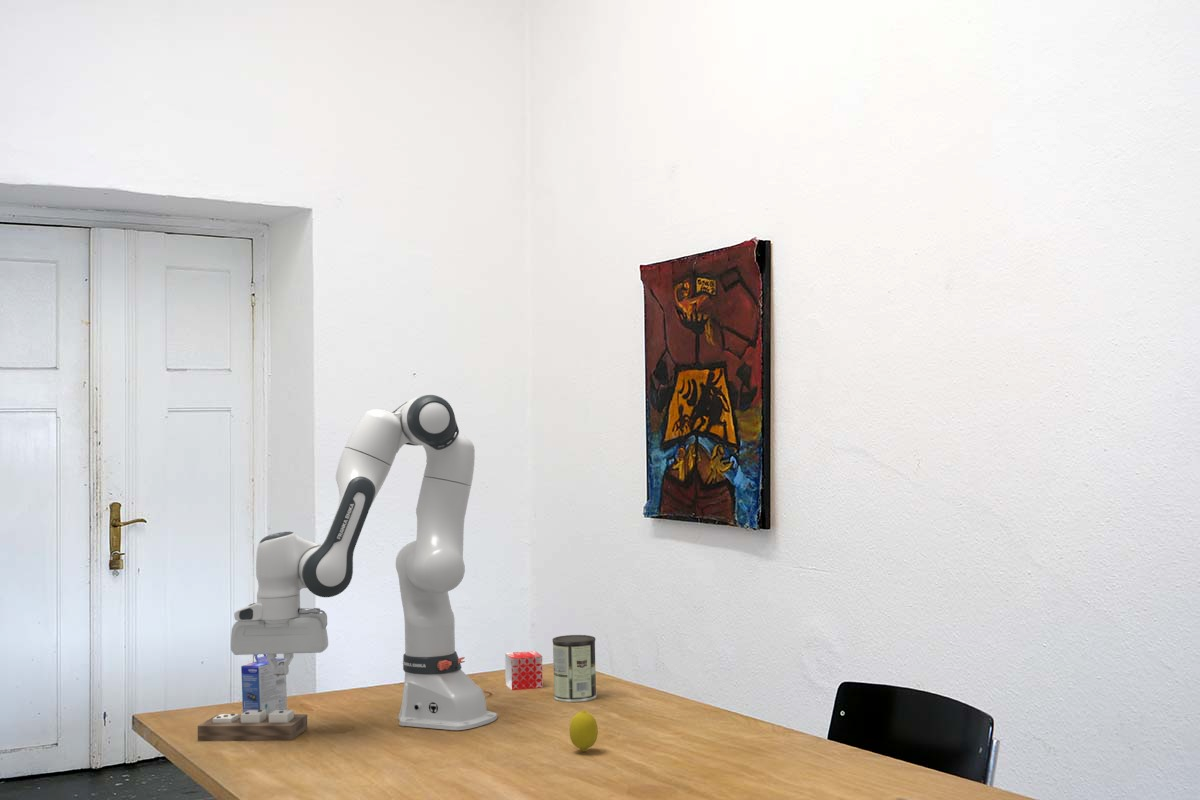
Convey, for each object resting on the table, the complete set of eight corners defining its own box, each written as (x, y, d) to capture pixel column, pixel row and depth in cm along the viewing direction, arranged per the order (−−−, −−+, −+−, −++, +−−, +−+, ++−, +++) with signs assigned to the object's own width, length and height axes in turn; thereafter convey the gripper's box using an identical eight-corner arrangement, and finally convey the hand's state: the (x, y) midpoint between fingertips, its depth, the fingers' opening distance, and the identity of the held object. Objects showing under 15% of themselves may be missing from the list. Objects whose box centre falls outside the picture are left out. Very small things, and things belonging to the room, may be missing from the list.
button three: (238, 725, 239) (238, 713, 239) (231, 730, 235) (231, 717, 235) (220, 725, 239) (220, 713, 239) (212, 730, 235) (212, 717, 235)
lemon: (601, 749, 220) (601, 707, 220) (592, 756, 215) (591, 714, 215) (575, 747, 222) (574, 706, 222) (565, 754, 216) (564, 712, 217)
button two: (266, 721, 239) (266, 709, 239) (259, 726, 235) (259, 713, 235) (247, 721, 239) (247, 709, 239) (240, 726, 235) (240, 713, 235)
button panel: (307, 728, 241) (307, 714, 241) (292, 740, 231) (292, 725, 231) (216, 728, 242) (216, 714, 242) (197, 740, 232) (197, 726, 232)
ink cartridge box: (268, 710, 260) (268, 647, 260) (288, 711, 258) (287, 648, 258) (240, 719, 250) (240, 654, 251) (260, 721, 248) (260, 655, 249)
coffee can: (573, 691, 274) (572, 633, 274) (605, 696, 267) (604, 637, 268) (544, 698, 266) (543, 639, 267) (576, 704, 259) (575, 643, 260)
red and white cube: (542, 688, 278) (542, 656, 279) (511, 690, 276) (511, 658, 277) (535, 682, 286) (535, 650, 286) (505, 684, 284) (505, 652, 284)
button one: (293, 721, 238) (293, 709, 238) (287, 726, 234) (287, 713, 234) (275, 721, 239) (275, 709, 239) (268, 726, 235) (268, 713, 235)
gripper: (331, 605, 240) (333, 670, 240) (238, 608, 242) (240, 672, 241) (322, 609, 234) (324, 676, 233) (226, 612, 235) (228, 679, 235)
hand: (280, 674), depth 237 cm, fingers closed
